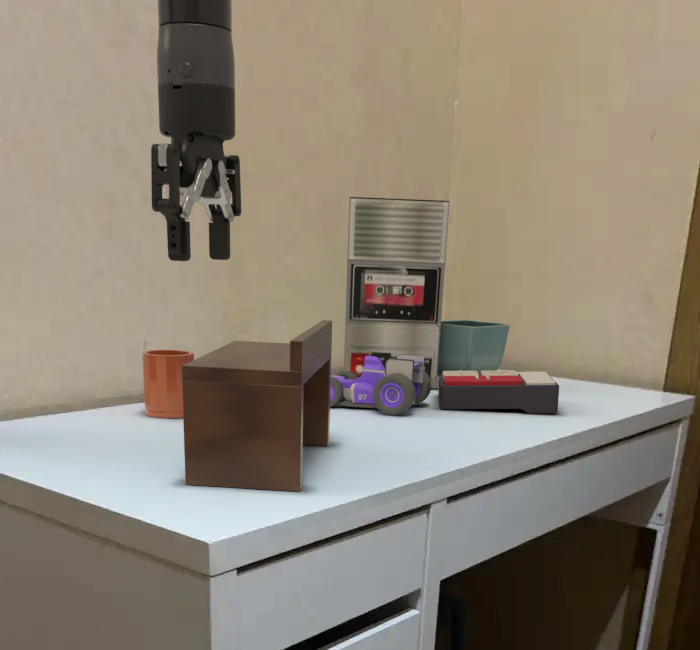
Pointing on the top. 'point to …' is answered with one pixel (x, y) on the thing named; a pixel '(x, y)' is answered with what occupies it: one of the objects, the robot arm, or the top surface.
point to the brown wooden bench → (257, 411)
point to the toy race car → (383, 385)
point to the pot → (164, 382)
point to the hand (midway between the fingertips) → (200, 260)
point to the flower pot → (471, 345)
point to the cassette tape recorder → (395, 280)
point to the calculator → (499, 391)
